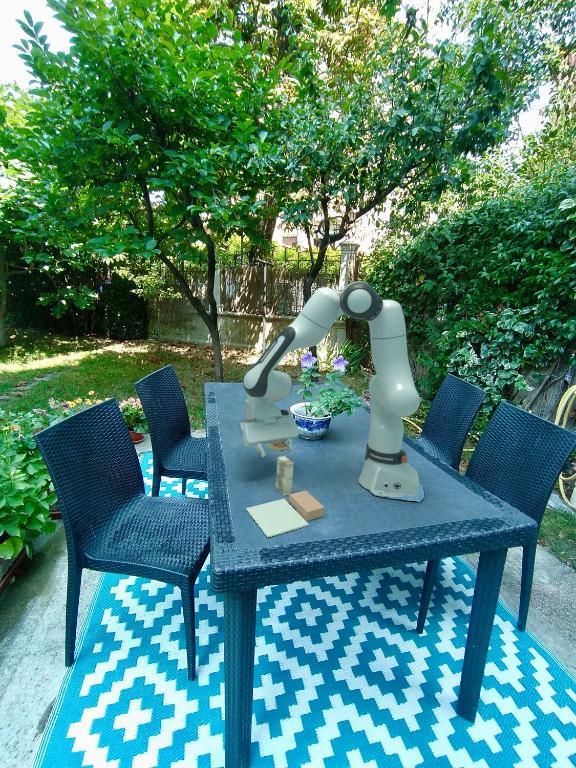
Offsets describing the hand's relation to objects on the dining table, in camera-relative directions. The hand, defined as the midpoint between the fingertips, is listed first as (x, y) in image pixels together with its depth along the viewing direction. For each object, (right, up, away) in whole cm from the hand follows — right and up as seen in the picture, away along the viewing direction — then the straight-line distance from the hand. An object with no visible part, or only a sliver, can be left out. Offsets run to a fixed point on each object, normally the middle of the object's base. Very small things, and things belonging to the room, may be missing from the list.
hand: (277, 454), depth 118 cm
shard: (-1, -4, +33) cm, 33 cm away
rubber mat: (0, -15, -17) cm, 22 cm away
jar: (-13, +3, +53) cm, 55 cm away
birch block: (+2, -12, -2) cm, 12 cm away
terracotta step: (+9, -14, -12) cm, 21 cm away
